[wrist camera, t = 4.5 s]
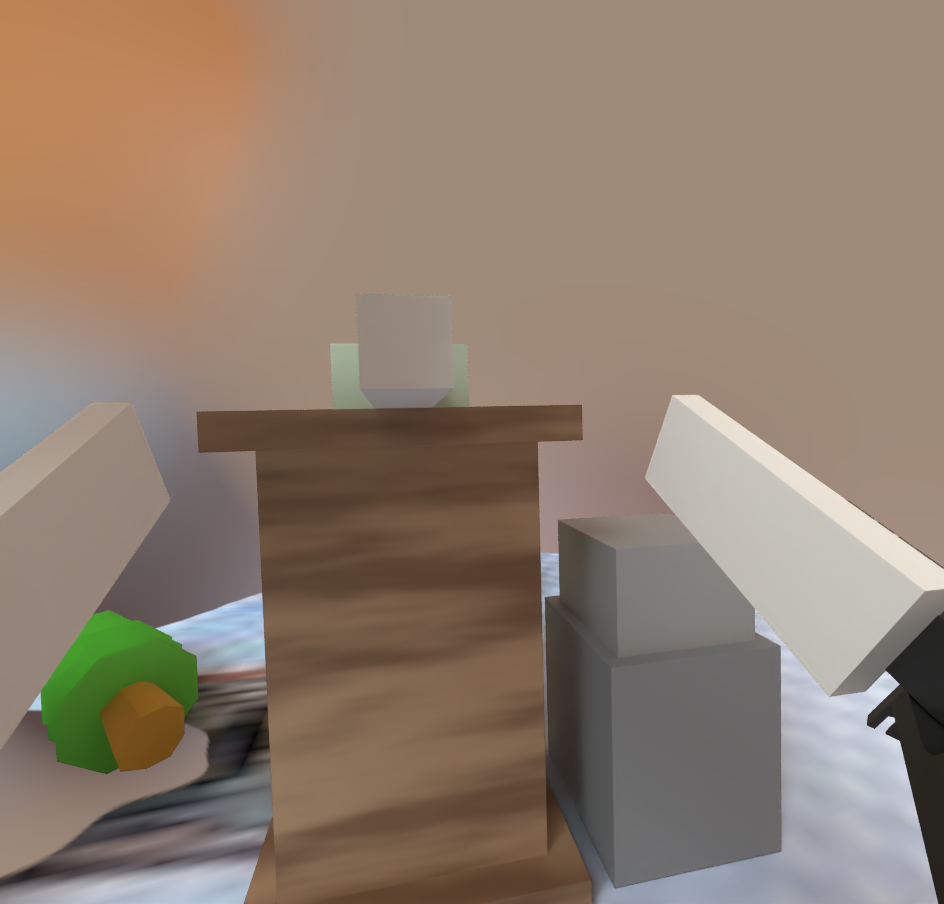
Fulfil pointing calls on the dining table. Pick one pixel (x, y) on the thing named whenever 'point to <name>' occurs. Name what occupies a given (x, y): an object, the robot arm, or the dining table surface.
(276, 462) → the walnut stand
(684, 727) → the stepped grey block
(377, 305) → the handled block
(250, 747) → the dining table surface
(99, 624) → the decorative tree
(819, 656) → the robot arm
